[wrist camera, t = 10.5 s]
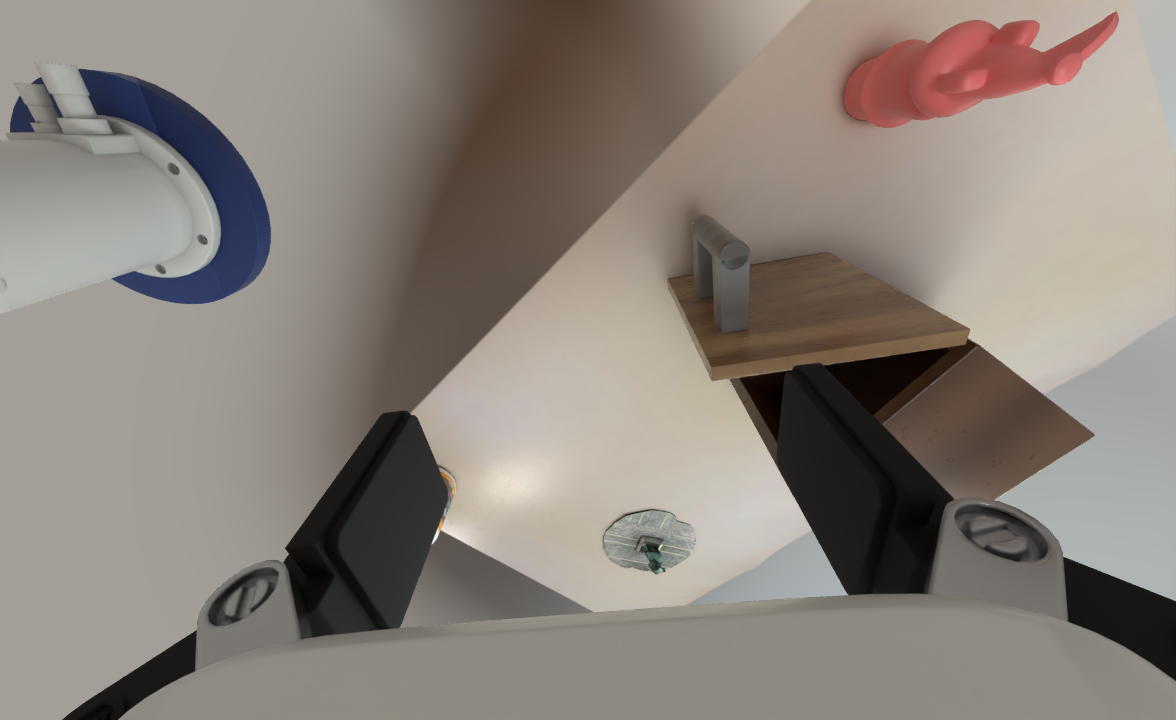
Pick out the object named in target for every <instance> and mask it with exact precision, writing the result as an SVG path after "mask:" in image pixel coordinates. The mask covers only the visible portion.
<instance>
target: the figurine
mask: <svg viewBox="0 0 1176 720" xmlns="http://www.w3.org/2000/svg"><path fill="white" fill-rule="evenodd" d="M1118 21H1119V17H1118V13H1117V12H1114V13H1112V14H1111V15H1109V16H1107V17H1106V18H1105V19H1104V20H1102V21H1101V22H1099V23H1098V24H1096V25H1094V26H1093V27H1091V28H1089V29H1087V30H1085V31H1084V32H1082V33H1080V34H1078V35H1076V36H1074V37H1072V38H1070V39H1069V40H1067V41H1065V42H1063V43H1061V44H1059V45H1057V46H1055V47H1053V48H1051V49H1049V50H1047V51H1045V52H1040V51H1038V50H1036V49H1033V48H1029V46H1030V45H1031V43H1032V42H1033V41H1034V39H1035V37H1036V36H1037V34H1038V31H1039V23H1038V22H1037V21H1033V20H1025V21H1016V22H1010V23H1007V24H1005V25H1004V26H1003V27H1001V28H1000V30H998V29H997V28H996V27H995V26H994V25H992V24H990V23H988V22H986V21H981V20H971V21H966V22H962V23H959V24H957V25H955V26H953V27H951V28H949V29H947V30H945V31H944V32H942V33H941V34H940V35H938V36H937V37H936V38H935V39H934V40H932V41H931V42H930V43H927V42H925V41H922V40H907V41H903V42H900V43H898V44H896V45H894V46H892V47H890V48H889V49H888V50H886V51H885V52H884V53H883V54H882V55H881V56H880V57H876V58H872V59H869V60H867V61H865V62H864V63H862V64H861V65H860V66H859V67H858V68H857V69H856V70H855V71H854V72H853V73H852V75H851V76H850V78H849V80H848V82H847V84H846V87H845V91H844V104H845V108H846V110H847V112H848V113H849V114H850V115H851V116H852V117H853V118H855V119H858V120H868V121H869V122H870V123H872V124H874V125H876V126H879V127H883V128H893V127H897V126H900V125H903V124H905V123H907V122H909V121H911V120H928V119H932V118H935V117H936V118H940V117H948V116H952V115H955V114H958V113H960V112H962V111H965V110H967V109H969V108H971V107H972V106H974V105H976V104H978V103H979V102H981V101H982V100H984V99H993V98H999V97H1004V96H1007V95H1011V94H1015V93H1019V92H1023V91H1026V90H1030V89H1033V88H1036V87H1038V86H1041V85H1044V84H1046V83H1048V84H1050V85H1053V86H1055V85H1061V84H1065V83H1067V82H1069V81H1070V80H1072V79H1073V78H1074V77H1075V76H1076V74H1077V73H1078V72H1079V70H1080V69H1081V67H1082V63H1083V61H1084V60H1086V59H1087V58H1088V57H1089V56H1090V55H1091V54H1093V53H1094V52H1095V51H1096V50H1097V49H1098V48H1099V47H1100V46H1101V45H1102V44H1103V43H1104V42H1105V41H1106V40H1107V39H1108V38H1109V37H1110V36H1111V35H1112V34H1113V32H1114V31H1115V29H1116V27H1117V25H1118Z"/></svg>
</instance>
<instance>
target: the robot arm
mask: <svg viewBox="0 0 1176 720" xmlns="http://www.w3.org/2000/svg"><path fill="white" fill-rule="evenodd" d="M34 64H35V66H36V68H37V69H38V72H39V74H40V76H41V78H42V80H43V82H44V84H45V86H46V88H47V90H48V92H49V94H52V95H53V97H54V99H55V101H56V103H57V105H58V107H59V109H60V111H61V113H62V115H63V117H64V118H59V116H58V115H57V113H56V111H55V109H54V107H53V105H54V104H53V102H52V100H51V98H50V96H49V94H48V92H47V90H46V88H45V86H44V85H41V84H25V83H14V84H15V86H16V88H17V90H18V92H19V94H20V96H21V98H22V100H23V101H24V103H25V104H27V106H28V108H29V110H30V112H31V114H32V116H33V118H34V120H35V121H36V123H30V124H31V125H32V127H33V129H34V131H35V132H18V133H6V136H7V137H8V139H9V141H0V314H2V313H5V312H8V311H11V310H15V309H18V308H21V307H24V306H27V305H30V304H33V303H36V302H39V301H42V300H46V299H48V298H52V297H55V296H58V295H61V294H64V293H67V292H70V291H74V290H77V289H80V288H83V287H86V286H89V285H92V284H95V283H98V282H102V281H105V280H107V279H111V278H114V277H117V276H120V275H123V274H126V273H129V272H133V271H136V272H139V273H142V274H146V275H150V276H156V277H162V278H167V277H180V276H184V275H188V274H191V273H193V272H196V271H198V270H200V269H202V268H203V267H205V266H206V265H208V264H209V263H210V262H211V260H212V259H213V258H214V257H215V255H216V253H217V251H218V248H219V246H220V239H221V224H220V217H219V214H218V211H217V207H216V204H215V202H214V200H213V198H212V195H211V193H210V191H209V189H208V188H207V186H206V185H205V183H204V181H203V180H202V178H201V177H200V175H199V174H198V173H197V171H196V170H195V169H194V168H193V167H192V166H191V164H190V163H189V162H188V161H187V160H186V159H185V158H184V157H183V156H182V155H181V154H180V153H179V152H178V151H177V150H176V149H175V148H173V147H172V146H171V145H170V144H168V143H167V142H166V141H164V140H163V139H161V138H160V137H159V136H157V135H156V134H154V133H153V132H151V131H149V130H147V129H145V128H143V127H141V126H140V125H138V124H135V123H132V122H130V121H127V120H124V119H121V118H117V117H112V116H106V115H97V114H96V112H95V110H94V108H93V106H92V104H91V101H90V99H89V97H88V95H90V94H89V92H88V90H87V88H86V86H85V83H84V81H83V79H82V77H81V75H80V73H79V70H78V68H77V66H73V65H64V64H53V63H34ZM776 458H777V464H778V467H779V470H780V472H781V474H782V476H783V477H784V479H785V481H786V483H787V485H788V487H789V488H790V490H791V492H792V494H793V496H794V498H795V499H796V501H797V503H798V505H799V507H800V509H801V510H802V512H803V514H804V516H805V518H806V520H807V521H808V523H809V525H810V527H811V529H812V531H813V532H814V534H815V536H816V538H817V540H818V542H819V543H820V545H821V547H822V549H823V551H824V552H825V554H826V556H827V558H828V560H829V561H830V564H831V565H832V567H833V569H834V571H835V573H836V575H837V576H838V578H839V580H840V582H841V584H842V585H843V587H844V589H845V591H846V592H847V594H848V595H847V596H827V597H809V598H791V599H775V600H761V601H747V602H733V603H719V604H704V605H691V606H676V607H662V608H648V609H635V610H622V611H609V612H595V613H582V614H570V615H556V616H544V617H530V618H517V619H506V620H493V621H481V622H469V623H456V624H444V625H432V626H420V627H407V628H400V626H401V624H402V621H403V619H404V616H405V613H406V610H407V608H408V606H409V603H410V600H411V597H412V595H413V592H414V589H415V587H416V584H417V582H418V579H419V576H420V574H421V571H422V568H423V565H424V563H425V561H426V558H427V555H428V553H429V550H430V547H431V545H432V542H433V539H434V537H435V534H436V531H437V529H438V526H439V524H440V521H441V518H442V516H443V513H444V510H445V508H446V505H447V502H448V490H447V487H446V484H445V482H444V480H443V477H442V475H441V472H440V470H439V468H438V465H437V463H436V461H435V458H434V456H433V454H432V451H431V449H430V446H429V444H428V442H427V439H426V437H425V435H424V432H423V430H422V427H421V425H420V423H419V420H418V418H417V417H416V416H414V415H411V414H410V413H409V412H408V411H397V412H390V413H389V412H388V413H383V414H382V415H381V416H380V417H379V419H378V420H377V421H376V423H375V424H374V426H373V427H372V428H371V430H370V431H369V432H368V434H367V435H366V437H365V438H364V440H363V441H362V442H361V444H360V445H359V446H358V448H357V449H356V451H355V452H354V453H353V455H352V456H351V458H350V459H349V460H348V462H347V463H346V464H345V466H344V467H343V469H342V470H341V471H340V473H339V474H338V475H337V477H336V479H335V480H334V481H333V482H332V484H331V485H330V487H329V488H328V489H327V491H326V492H325V494H324V495H323V496H322V498H321V499H320V500H319V502H318V503H317V505H316V506H315V507H314V509H313V510H312V512H311V513H310V515H309V516H308V517H307V519H306V520H305V521H304V523H303V524H302V526H301V527H300V528H299V530H298V531H297V532H296V534H295V535H294V537H293V538H292V539H291V541H290V542H289V544H288V545H287V546H286V548H285V549H286V550H287V552H288V553H289V555H288V556H287V558H286V559H285V561H284V562H283V563H282V562H280V561H278V560H267V561H263V562H260V563H256V564H254V565H251V566H250V567H247V568H245V569H243V570H241V571H240V572H238V573H237V574H235V575H234V576H232V577H231V578H229V579H228V580H227V581H226V582H225V583H223V584H222V585H221V586H220V587H219V588H217V590H216V591H215V592H214V593H213V594H212V595H211V596H210V597H209V599H208V600H207V601H206V603H205V605H204V606H203V608H202V609H201V611H200V614H199V617H198V621H197V630H196V631H195V632H193V633H191V634H190V635H188V636H187V637H185V638H184V639H182V640H181V641H179V642H177V643H176V644H174V645H173V646H171V647H170V648H168V649H167V650H165V651H164V652H162V653H160V654H159V655H157V656H156V657H154V658H153V659H151V660H150V661H148V662H146V663H145V664H144V665H142V666H140V667H139V668H137V669H136V670H134V671H133V672H131V673H129V674H128V675H127V676H125V677H123V678H122V679H120V680H119V681H117V682H115V683H114V684H112V685H111V686H109V687H108V688H106V689H105V690H103V691H102V692H100V693H98V694H97V695H95V696H94V697H92V698H91V699H89V700H88V701H86V702H85V703H83V704H82V705H81V706H79V707H78V708H76V709H75V710H74V711H72V712H71V713H70V714H68V715H67V716H66V717H65V718H64V719H63V720H1176V601H1173V600H1171V599H1169V598H1166V597H1164V596H1161V595H1159V594H1156V593H1154V592H1151V591H1149V590H1146V589H1143V588H1141V587H1138V586H1136V585H1133V584H1131V583H1128V582H1126V581H1123V580H1121V579H1118V578H1116V577H1113V576H1111V575H1108V574H1105V573H1103V572H1100V571H1098V570H1095V569H1093V568H1090V567H1088V566H1085V565H1083V564H1080V563H1078V562H1075V561H1073V560H1070V559H1068V558H1065V557H1063V553H1062V549H1061V547H1060V544H1059V542H1058V540H1057V539H1056V538H1055V536H1054V535H1053V534H1052V533H1051V532H1050V530H1049V529H1048V528H1046V527H1045V526H1044V525H1043V524H1041V523H1040V522H1039V521H1038V520H1036V519H1035V518H1033V517H1032V516H1030V515H1028V514H1026V513H1024V512H1023V511H1021V510H1019V509H1017V508H1015V507H1012V506H1010V505H1007V504H1004V503H1002V502H999V501H995V500H990V499H986V498H979V497H964V498H958V499H954V498H953V497H952V496H951V495H950V494H949V493H948V492H947V491H946V490H945V489H944V488H943V487H942V486H941V485H940V484H939V483H938V481H937V480H936V479H935V478H934V477H933V476H932V475H931V474H930V473H929V472H928V471H927V470H926V469H925V468H924V467H923V466H922V465H921V464H920V463H919V462H918V461H917V460H916V459H915V458H914V457H913V456H912V455H911V454H910V453H909V452H908V451H907V450H906V449H905V447H904V446H903V445H902V444H901V443H900V442H899V441H898V440H897V439H896V438H895V437H894V436H893V435H892V434H891V433H890V432H889V431H888V430H887V429H886V428H885V427H884V426H883V425H882V424H881V423H880V422H879V421H878V420H877V419H876V418H875V417H874V416H873V415H871V414H870V413H869V412H868V411H867V410H866V409H865V408H864V407H863V406H862V405H861V404H860V403H859V402H858V401H857V400H856V399H855V398H854V397H853V396H852V394H851V393H850V392H849V391H848V390H847V389H846V388H845V387H844V386H843V385H842V384H841V383H840V382H839V381H838V380H837V379H836V378H835V377H834V376H833V375H832V374H831V373H830V372H829V371H828V370H827V369H826V368H825V366H824V365H822V364H821V363H812V364H804V365H795V366H794V367H793V368H792V371H791V372H787V373H786V374H785V377H784V386H783V396H782V405H781V415H780V425H779V435H778V445H777V456H776Z"/></svg>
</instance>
